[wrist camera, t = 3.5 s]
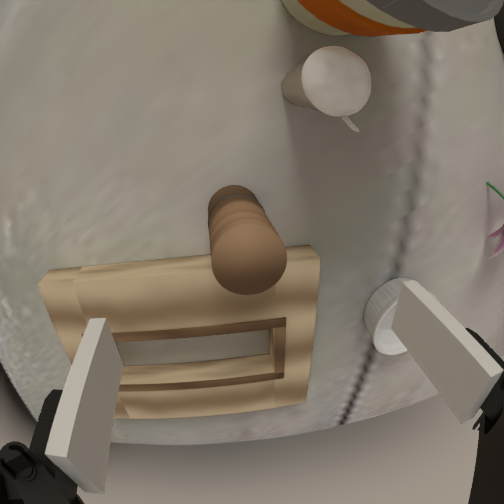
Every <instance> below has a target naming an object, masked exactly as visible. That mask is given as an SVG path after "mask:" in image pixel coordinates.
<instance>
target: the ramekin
mask: <svg viewBox="0 0 504 504" xmlns="http://www.w3.org/2000/svg"><path fill="white" fill-rule="evenodd" d="M406 281H411V279H408V278H396V279H393V280H390V281H388V282H386V283H385V284H383V285H382V286H380V287H379V288H378V289H377V290H376V291H375V292H374V293H373V294H372V296H371V297H370V299H369V300H368V302H367V304H366V307H365V311H364V322H365V325H366V327H367V329H368V331H369V333H370V335H371V337H372V340H373V344H374V346H375V348H376V349H377V351H379V352H380V353H382V354H385V355H398V354H401V353H404V352H406V351H408V350H407V349H406V347H405V346H404V345H403V343H402V342H401V341H400V339H399V338H398V337H397V336H396V334H395V333H394V332H393V330H392V329H391V326H392V323H393V319H394V315H395V311H396V307H397V302H398V298H399V294H400V289H401V285H402V282H406ZM426 291H427V290H426ZM427 292H428V293H429V294H430V295H431V296H432V297H433V298H434V299H436V300H437V298H436V297H435V296H434V295H433V294H432V293H431V292H429V291H427Z"/></svg>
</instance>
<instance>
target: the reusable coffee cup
mask: <svg viewBox="0 0 504 504" xmlns="http://www.w3.org/2000/svg"><path fill="white" fill-rule="evenodd" d="M282 2H283V4H284V6H285V7H286V9H287V10H288V12H289V13H290V14H291V15H292V16H293V17H294V18H295V19H296V20H297V21H299V22H300V23H301V24H303V25H304V26H306V27H308V28H309V29H311V30H313V31H316V32H319V33H321V34H326V35H331V36H343V35H350V34H354V35H358V36H370V37H371V36H382V35H397V34H414V33H420V32H423V31H427V30H430V31H434V32H449V31H452V30H456V29H459V28H462V27H465V26H469V25H472V24H476V23H479V22H483V21H486V20H490V19H491V18H493V17H494V16H495V15H497V14H498V13H499V11H500V9H501V7H502V6H503V2H504V0H282Z"/></svg>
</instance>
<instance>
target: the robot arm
mask: <svg viewBox="0 0 504 504" xmlns="http://www.w3.org/2000/svg"><path fill="white" fill-rule="evenodd" d="M495 23H496V28H497V32H498V36H499V39H500V43H501V46H502V48H503V51H504V2H503V6H502V7H501V9H500V11H499V13H498V14H497V15H495ZM391 329H392V330H393V332H394V333H395V334H396V336H397V337H398V338H399V339H400V341H401V342H402V343H403V345H404V346H405V347H406V349H407V350H408V351H409V353H410V354H411V355H412V357H413V358H414V359H415V361H416V362H417V363H418V365H419V366H420V367H421V369H422V370H423V371H424V373H425V374H426V375H427V377H428V378H429V380H430V381H431V382H432V384H433V385H434V386H435V388H436V389H437V391H438V392H439V393H440V395H441V396H442V398H443V399H444V400H445V402H446V403H447V405H448V406H449V407H450V409H451V410H452V412H453V413H454V415H455V416H456V418H457V419H458V421H459V422H460V424H462V423H464V422H466V421H467V420H469V419H471V418H473V417H474V416H475V414H476V413H477V411H478V410H479V409H480V408H481V409H482V411H483V413H482V414H481V416H480V417H479V419H478V420H477V422H476V423H475V424H474V426H473V429H475V428H476V427H477V426H478V424H479V423H480V427H479V428H478V430H479V440H478V449H477V457H476V465H475V471H474V477H473V483H472V488H471V493H470V498H469V503H468V504H504V361H503V360H502V359H501V358H500V357H499V356H498V355H497V354H496V353H495V352H494V351H493V349H492V348H490V346H489V345H488V344H487V343H486V342H484V340H483V339H482V338H481V337H480V336H479V335H478V334H477V333H475V332H474V331H472V330H470V329H469V328H466V329H465V328H464V327H463V326H462V325H461V324H460V323H459V322H458V321H457V320H456V319H455V318H454V317H453V316H452V315H451V314H450V313H449V312H448V311H447V310H446V309H445V308H444V307H443V306H442V305H441V304H440V303H439V302H438V301H437V300H436V299H434V298H433V297H432V296H431V295H430V294H429V293H428V292H427V291H426V290H425V289H424V288H423V287H422V286H421V285H420V284H419V283H417V282H416V281H415V280H411V281H406V282H402V285H401V289H400V294H399V298H398V302H397V307H396V311H395V315H394V319H393V323H392V326H391ZM123 366H124V365H123V362H122V360H121V357H120V355H119V352H118V349H117V347H116V344H115V341H114V339H113V336H112V333H111V330H110V328H109V325H108V322H107V319H106V318H94V319H90V320H89V322H88V325H87V327H86V330H85V332H84V335H83V337H82V340H81V342H80V345H79V347H78V350H77V353H76V355H75V358H74V361H73V363H72V366H71V369H70V372H69V375H68V377H67V380H66V383H65V386H64V389H63V390H54V389H53V390H52V391H51V393H50V394H49V395H48V396H47V397H46V399H45V401H44V404H43V407H42V409H41V413H40V415H39V418H38V420H39V421H38V422H37V425H36V428H35V431H34V434H33V438H32V441H31V444H30V448H29V449H28V448H27V447H26V446H25V445H24V444H22V443H20V442H10V443H7V444H6V445H5V446H3V447H2V449H1V450H0V504H84V503H83V501H82V500H81V498H80V497H79V496H78V495H77V494H76V493H77V486H79V487H80V488H81V489H82V490H84V492H91V493H98V494H104V493H105V482H106V473H107V464H108V455H109V447H110V440H111V433H112V427H113V420H114V414H115V408H116V402H117V397H118V391H119V386H120V381H121V376H122V371H123Z"/></svg>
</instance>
